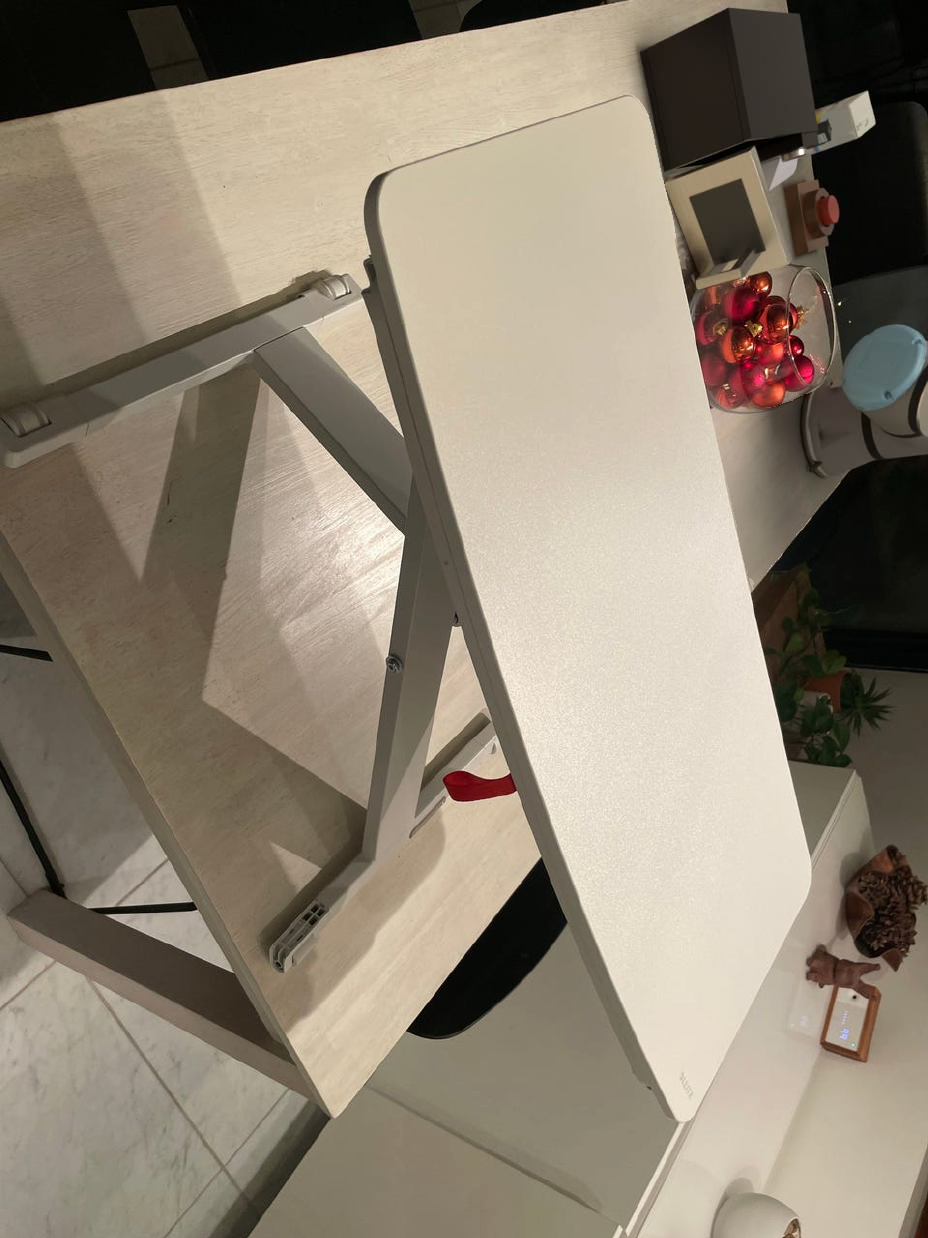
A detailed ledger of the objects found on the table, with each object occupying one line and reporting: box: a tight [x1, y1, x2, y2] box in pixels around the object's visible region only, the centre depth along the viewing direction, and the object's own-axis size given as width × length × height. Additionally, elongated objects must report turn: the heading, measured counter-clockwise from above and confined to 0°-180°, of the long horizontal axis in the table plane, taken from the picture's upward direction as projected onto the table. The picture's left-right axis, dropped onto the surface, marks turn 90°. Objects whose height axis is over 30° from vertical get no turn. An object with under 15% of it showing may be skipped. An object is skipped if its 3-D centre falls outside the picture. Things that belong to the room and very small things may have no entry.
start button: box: [818, 195, 840, 226], centre depth 144 cm, size 4×4×2 cm
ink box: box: [797, 90, 876, 160], centre depth 140 cm, size 9×5×12 cm, turn 123°
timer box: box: [783, 179, 835, 257], centre depth 146 cm, size 10×8×4 cm
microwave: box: [639, 7, 819, 173], centre depth 120 cm, size 16×20×12 cm
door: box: [664, 146, 793, 291], centre depth 117 cm, size 8×15×12 cm, turn 40°
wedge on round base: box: [761, 158, 799, 192], centre depth 135 cm, size 9×7×13 cm
